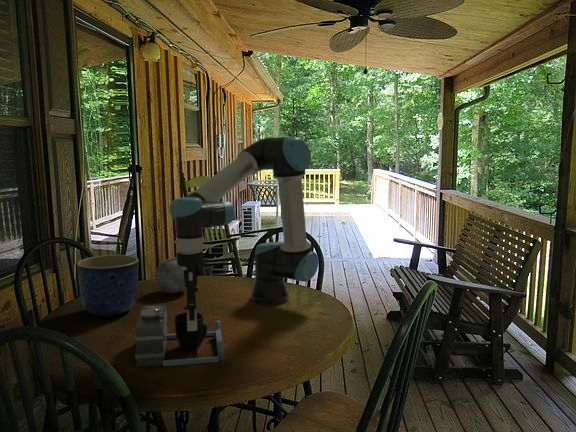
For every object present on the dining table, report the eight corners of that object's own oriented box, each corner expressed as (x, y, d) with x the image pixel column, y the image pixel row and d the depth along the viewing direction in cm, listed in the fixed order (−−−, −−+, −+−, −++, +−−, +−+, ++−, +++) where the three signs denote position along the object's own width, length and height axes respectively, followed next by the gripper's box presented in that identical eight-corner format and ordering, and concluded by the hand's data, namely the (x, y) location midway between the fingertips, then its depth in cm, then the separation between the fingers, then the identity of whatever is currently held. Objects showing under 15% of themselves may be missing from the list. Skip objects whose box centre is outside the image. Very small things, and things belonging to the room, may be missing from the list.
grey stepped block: (167, 338, 140) (166, 298, 138) (164, 365, 122) (163, 319, 120) (142, 340, 138) (141, 299, 136) (135, 367, 120) (134, 321, 119)
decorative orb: (181, 285, 197) (180, 252, 195) (198, 293, 187) (198, 258, 185) (149, 292, 187) (148, 257, 185) (166, 300, 177) (165, 263, 175)
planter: (78, 325, 150) (75, 270, 147) (79, 306, 168) (77, 257, 166) (142, 317, 158) (141, 264, 155) (137, 300, 176) (136, 253, 174)
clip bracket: (220, 334, 144) (219, 319, 143) (224, 361, 125) (224, 344, 124) (167, 337, 140) (166, 322, 140) (163, 366, 121) (162, 348, 121)
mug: (192, 359, 125) (192, 327, 124) (169, 346, 134) (169, 316, 132) (216, 351, 131) (216, 320, 130) (193, 339, 140) (192, 309, 138)
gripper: (177, 243, 140) (180, 307, 143) (175, 262, 116) (178, 339, 119) (202, 242, 141) (204, 306, 144) (204, 261, 117) (206, 337, 120)
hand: (192, 321), depth 132 cm, fingers open, 13 cm apart
